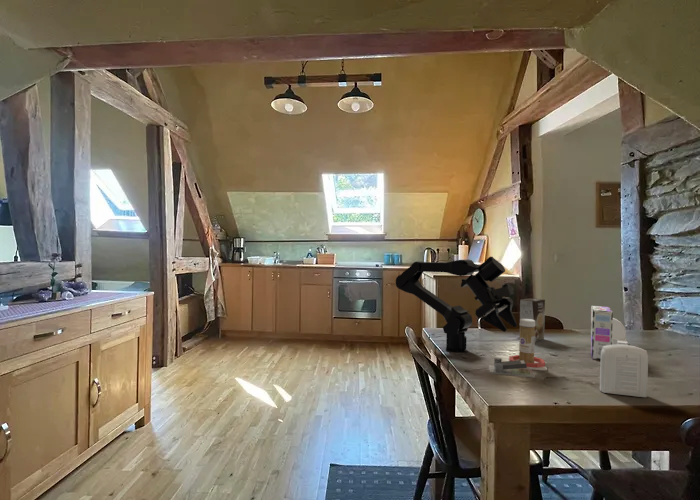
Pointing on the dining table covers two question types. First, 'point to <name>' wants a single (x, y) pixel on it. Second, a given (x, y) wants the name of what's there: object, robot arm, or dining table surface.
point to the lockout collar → (537, 365)
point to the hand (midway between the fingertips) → (511, 328)
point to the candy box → (600, 329)
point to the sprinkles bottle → (527, 340)
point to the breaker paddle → (514, 364)
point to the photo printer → (624, 370)
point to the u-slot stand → (618, 333)
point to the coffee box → (534, 314)
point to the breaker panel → (509, 370)
